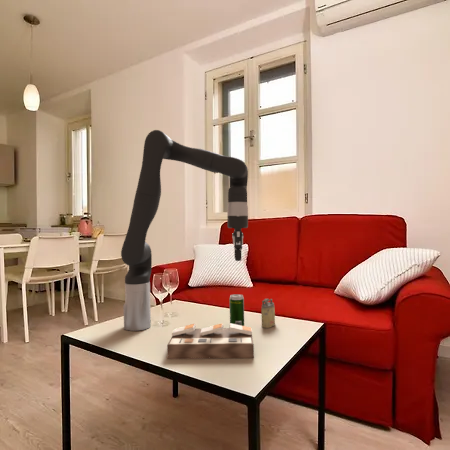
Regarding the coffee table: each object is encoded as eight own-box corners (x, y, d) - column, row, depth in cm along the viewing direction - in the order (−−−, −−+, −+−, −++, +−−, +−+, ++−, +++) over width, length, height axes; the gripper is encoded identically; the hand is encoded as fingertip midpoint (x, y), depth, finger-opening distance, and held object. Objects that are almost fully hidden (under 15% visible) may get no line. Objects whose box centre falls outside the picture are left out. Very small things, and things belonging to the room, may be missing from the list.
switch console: (167, 358, 89) (167, 342, 89) (176, 340, 103) (176, 326, 103) (253, 357, 88) (253, 341, 88) (251, 339, 102) (250, 325, 102)
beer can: (246, 328, 113) (246, 296, 113) (233, 330, 112) (232, 297, 112) (241, 324, 118) (240, 293, 118) (228, 326, 117) (227, 294, 117)
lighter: (268, 322, 121) (267, 296, 121) (277, 323, 118) (276, 298, 118) (259, 327, 115) (259, 300, 115) (269, 329, 113) (268, 301, 113)
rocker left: (172, 336, 96) (171, 332, 96) (174, 331, 100) (174, 328, 100) (194, 330, 95) (193, 327, 95) (195, 326, 99) (194, 323, 99)
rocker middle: (201, 335, 95) (200, 332, 95) (202, 331, 99) (201, 328, 99) (223, 330, 95) (222, 326, 95) (223, 326, 99) (222, 322, 99)
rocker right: (229, 330, 95) (230, 326, 95) (229, 326, 99) (230, 322, 99) (251, 335, 95) (252, 331, 95) (250, 330, 99) (251, 327, 99)
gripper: (227, 215, 119) (227, 257, 119) (227, 214, 105) (227, 261, 105) (246, 215, 119) (246, 257, 119) (249, 214, 105) (249, 261, 105)
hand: (237, 259), depth 112 cm, fingers open, 8 cm apart
